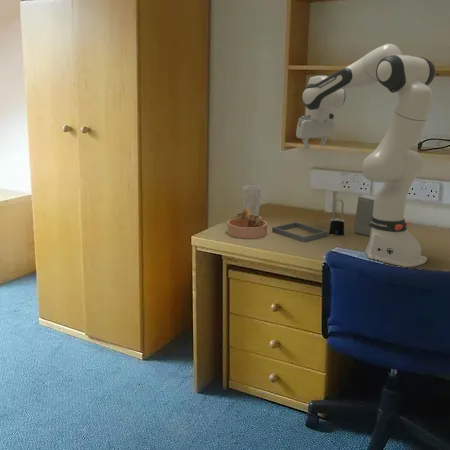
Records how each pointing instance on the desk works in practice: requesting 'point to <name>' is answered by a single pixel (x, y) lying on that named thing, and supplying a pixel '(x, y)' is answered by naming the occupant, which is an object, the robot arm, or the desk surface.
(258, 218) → the lion figurine
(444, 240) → the desk surface
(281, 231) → the tray
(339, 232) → the padlock
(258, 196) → the cup
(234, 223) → the bowl
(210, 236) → the desk surface
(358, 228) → the skincare box
